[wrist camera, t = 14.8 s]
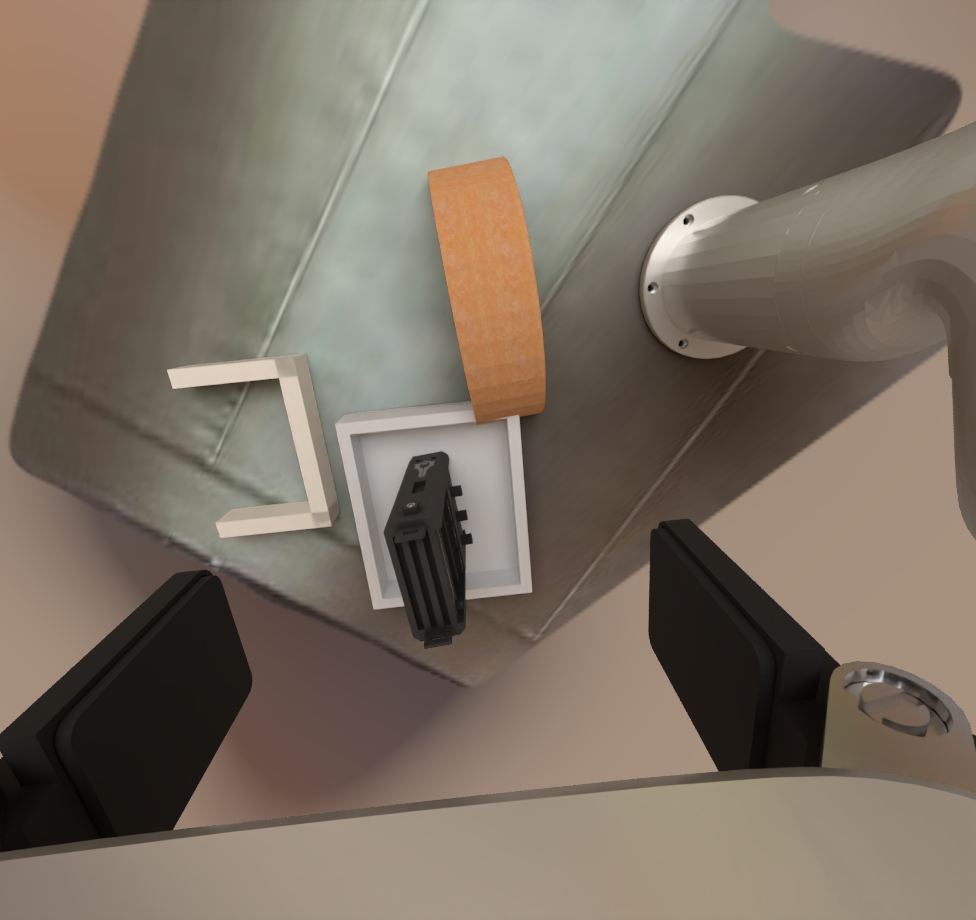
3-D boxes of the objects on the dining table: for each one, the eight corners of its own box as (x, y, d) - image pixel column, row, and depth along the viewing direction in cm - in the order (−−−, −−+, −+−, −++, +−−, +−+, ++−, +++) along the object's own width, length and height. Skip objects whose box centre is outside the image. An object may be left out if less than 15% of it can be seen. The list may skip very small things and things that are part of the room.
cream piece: (305, 353, 39) (293, 357, 36) (340, 512, 44) (331, 526, 41) (188, 365, 39) (167, 369, 36) (236, 522, 44) (220, 538, 41)
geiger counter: (477, 544, 45) (482, 655, 31) (432, 552, 45) (415, 667, 31) (456, 443, 41) (450, 515, 27) (406, 452, 41) (375, 529, 27)
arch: (475, 422, 42) (476, 450, 32) (430, 177, 36) (415, 122, 27) (538, 411, 42) (558, 436, 32) (502, 163, 36) (514, 103, 26)
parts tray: (513, 396, 41) (518, 405, 37) (527, 569, 47) (532, 592, 43) (347, 413, 41) (334, 424, 37) (381, 584, 47) (373, 609, 43)
